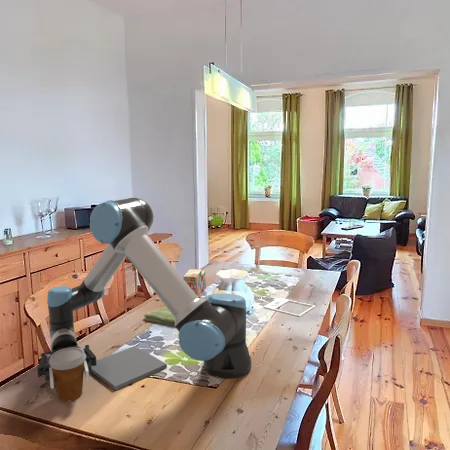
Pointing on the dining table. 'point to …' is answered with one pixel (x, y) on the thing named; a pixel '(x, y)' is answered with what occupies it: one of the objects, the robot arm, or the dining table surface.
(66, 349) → the disposable coffee cup
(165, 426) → the dining table surface
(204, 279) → the printed cardboard box
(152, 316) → the washcloth
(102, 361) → the slate tile
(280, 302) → the photo frame
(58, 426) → the dining table surface
